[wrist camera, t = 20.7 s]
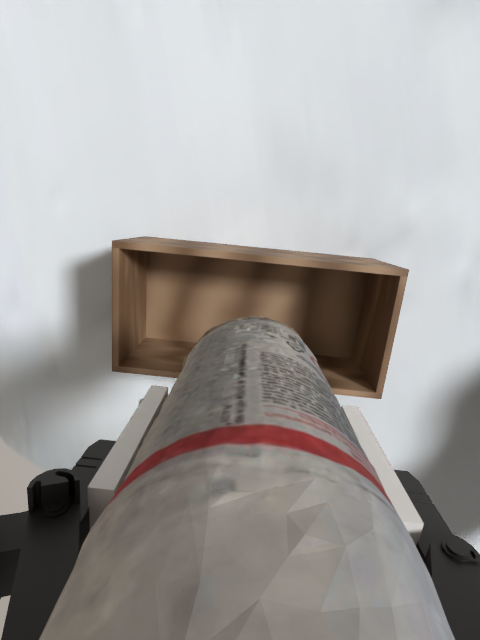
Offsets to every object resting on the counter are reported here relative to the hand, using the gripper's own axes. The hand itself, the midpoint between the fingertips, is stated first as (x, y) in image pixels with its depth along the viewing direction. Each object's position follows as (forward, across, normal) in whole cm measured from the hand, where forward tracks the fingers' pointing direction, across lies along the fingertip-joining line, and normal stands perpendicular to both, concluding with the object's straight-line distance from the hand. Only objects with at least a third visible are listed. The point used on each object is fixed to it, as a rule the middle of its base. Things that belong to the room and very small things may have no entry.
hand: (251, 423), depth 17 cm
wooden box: (+27, 0, 0) cm, 27 cm away
